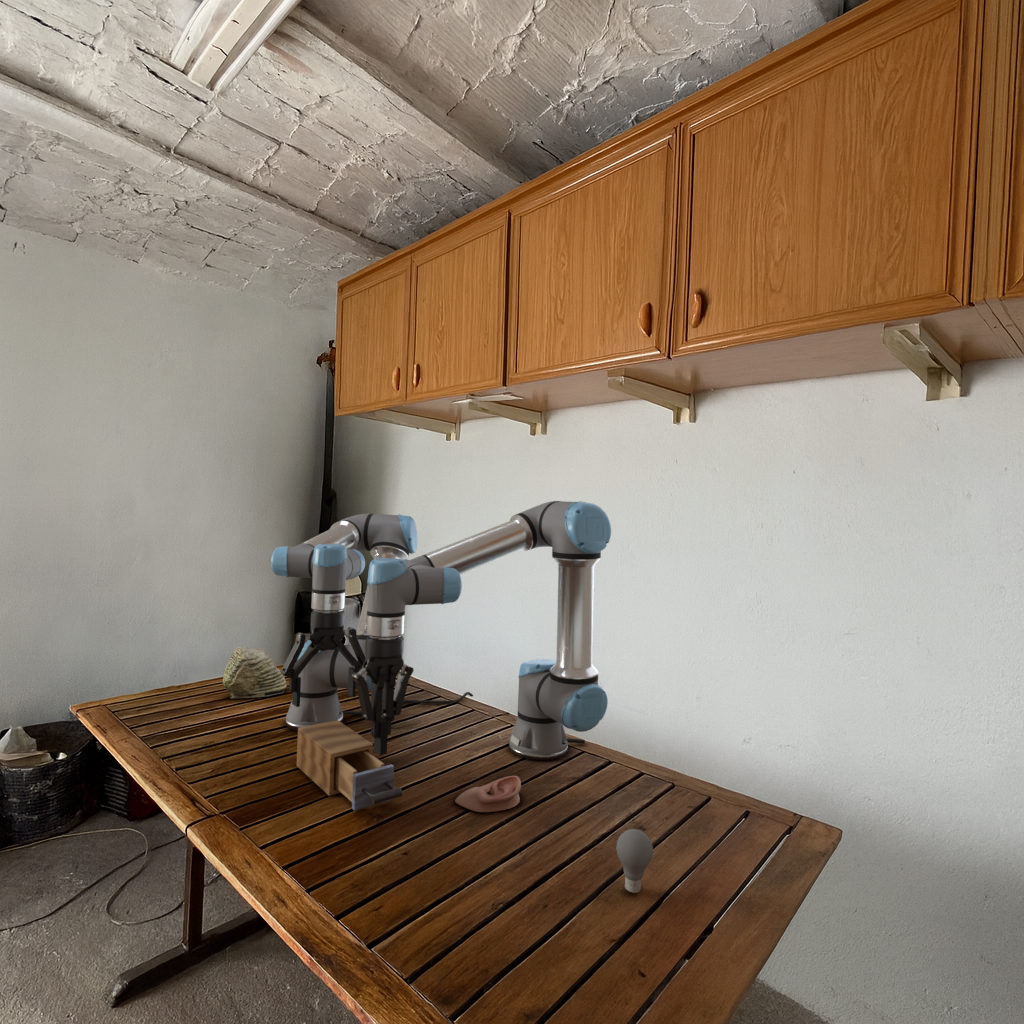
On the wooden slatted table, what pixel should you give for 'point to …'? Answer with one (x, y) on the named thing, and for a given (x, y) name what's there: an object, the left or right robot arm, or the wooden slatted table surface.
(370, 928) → the wooden slatted table surface
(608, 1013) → the wooden slatted table surface
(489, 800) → the anatomical model
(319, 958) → the wooden slatted table surface
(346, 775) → the drawer
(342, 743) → the cabinet
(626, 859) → the light bulb
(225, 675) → the fossil
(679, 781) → the wooden slatted table surface
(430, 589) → the right robot arm
